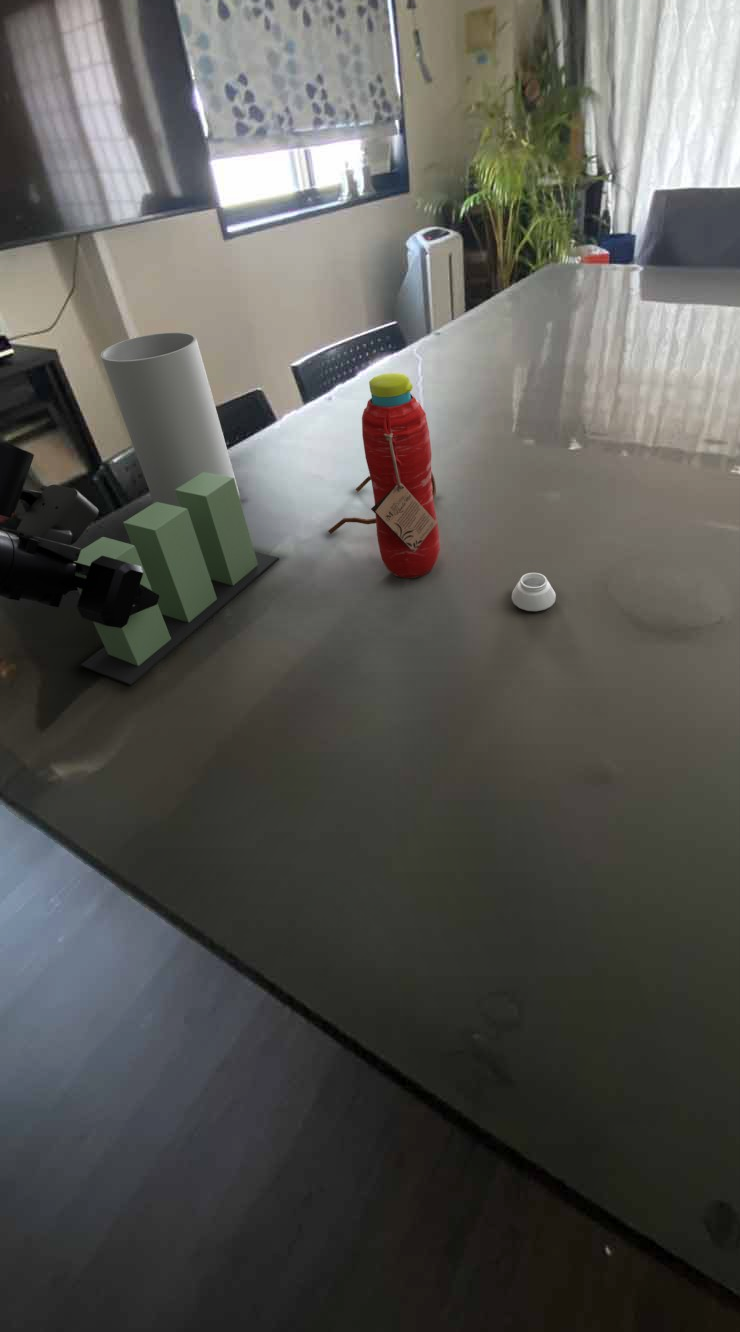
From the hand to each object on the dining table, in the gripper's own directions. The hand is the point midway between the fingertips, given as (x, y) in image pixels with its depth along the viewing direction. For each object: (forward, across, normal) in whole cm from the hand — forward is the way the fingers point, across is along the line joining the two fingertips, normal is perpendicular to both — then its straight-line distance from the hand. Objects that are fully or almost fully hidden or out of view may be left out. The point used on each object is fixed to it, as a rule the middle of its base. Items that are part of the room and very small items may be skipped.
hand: (127, 590), depth 76 cm
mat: (+10, 0, 0) cm, 10 cm away
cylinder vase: (+24, +17, -14) cm, 33 cm away
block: (+4, 0, +6) cm, 7 cm away
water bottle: (+22, -22, -11) cm, 33 cm away
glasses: (+30, -12, -20) cm, 38 cm away
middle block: (+10, 0, 0) cm, 10 cm away
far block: (+15, 0, -5) cm, 16 cm away
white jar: (+22, -39, -11) cm, 46 cm away
